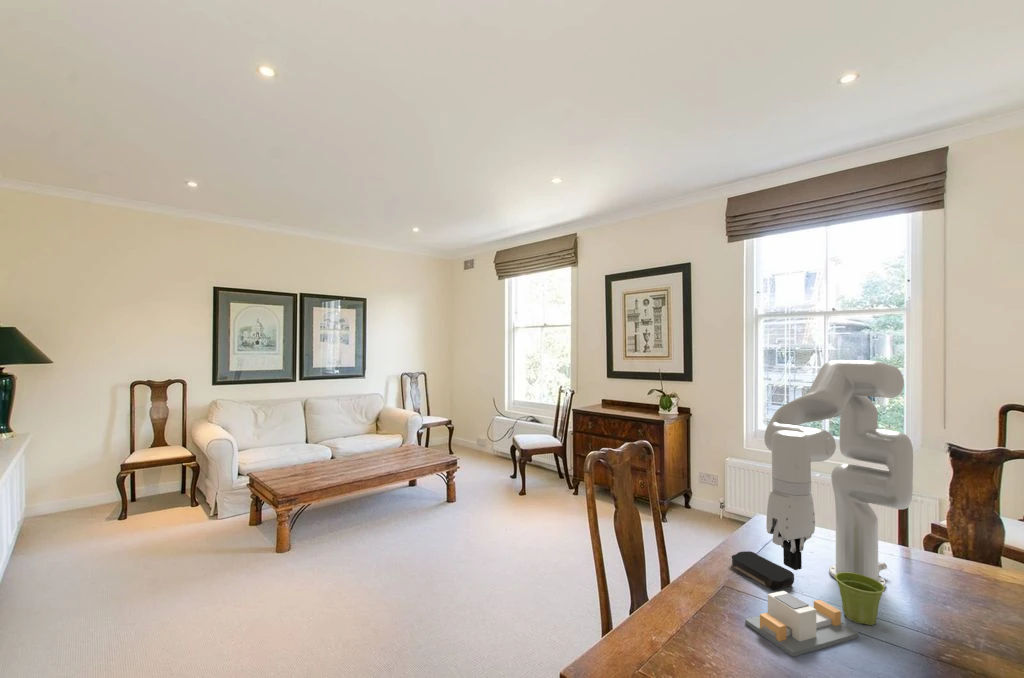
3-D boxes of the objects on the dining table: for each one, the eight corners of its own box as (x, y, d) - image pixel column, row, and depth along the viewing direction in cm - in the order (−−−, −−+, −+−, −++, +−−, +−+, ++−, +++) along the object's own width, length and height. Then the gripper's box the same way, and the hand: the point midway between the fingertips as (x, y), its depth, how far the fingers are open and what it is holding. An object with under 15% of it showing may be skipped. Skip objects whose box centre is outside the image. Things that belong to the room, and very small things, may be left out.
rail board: (807, 608, 112) (807, 591, 112) (858, 637, 100) (858, 619, 100) (745, 623, 105) (745, 606, 105) (792, 656, 94) (792, 637, 94)
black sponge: (798, 588, 121) (798, 575, 121) (775, 594, 119) (774, 579, 119) (748, 561, 137) (748, 549, 137) (726, 565, 134) (726, 553, 134)
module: (783, 616, 106) (783, 589, 106) (816, 637, 99) (816, 608, 99) (767, 620, 105) (767, 593, 105) (799, 641, 97) (799, 612, 97)
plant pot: (872, 634, 101) (872, 595, 102) (827, 612, 110) (827, 576, 110) (893, 623, 106) (892, 586, 106) (847, 603, 114) (847, 568, 114)
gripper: (799, 477, 109) (800, 553, 109) (752, 485, 104) (753, 565, 104) (830, 487, 101) (832, 568, 101) (781, 495, 96) (783, 581, 96)
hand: (792, 566), depth 102 cm, fingers closed
